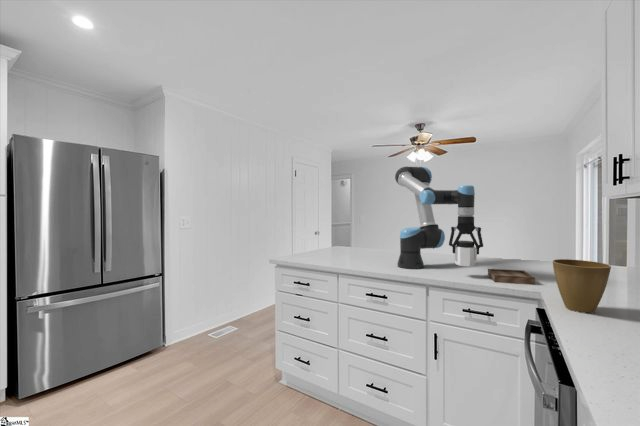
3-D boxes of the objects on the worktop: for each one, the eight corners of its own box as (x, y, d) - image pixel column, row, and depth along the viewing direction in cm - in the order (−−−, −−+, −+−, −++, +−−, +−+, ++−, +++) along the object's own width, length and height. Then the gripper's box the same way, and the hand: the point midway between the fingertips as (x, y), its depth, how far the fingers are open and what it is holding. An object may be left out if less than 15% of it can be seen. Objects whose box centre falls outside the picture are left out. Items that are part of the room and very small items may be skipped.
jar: (467, 267, 147) (468, 243, 146) (452, 264, 153) (452, 241, 153) (477, 265, 152) (478, 241, 151) (462, 262, 158) (462, 240, 158)
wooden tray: (494, 282, 140) (494, 275, 140) (487, 275, 155) (487, 268, 155) (535, 284, 135) (535, 277, 135) (523, 277, 150) (523, 270, 150)
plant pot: (549, 310, 101) (549, 263, 101) (556, 300, 112) (556, 257, 111) (610, 321, 91) (610, 268, 90) (611, 309, 101) (611, 262, 101)
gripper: (443, 216, 152) (443, 260, 152) (491, 216, 145) (490, 262, 145) (442, 215, 159) (442, 257, 159) (487, 215, 152) (487, 260, 152)
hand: (465, 260), depth 152 cm, fingers closed on jar, 8 cm apart
